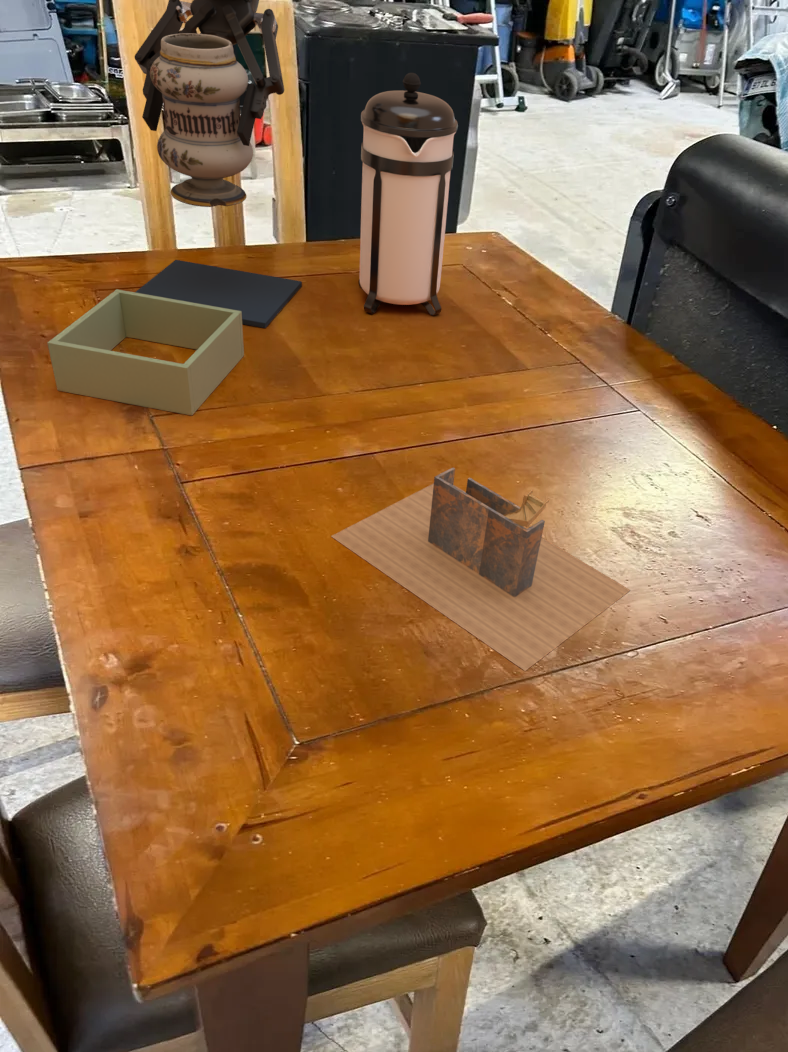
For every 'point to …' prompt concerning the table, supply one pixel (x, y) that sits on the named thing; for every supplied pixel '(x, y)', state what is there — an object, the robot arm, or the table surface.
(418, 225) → the coffee press
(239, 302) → the mat
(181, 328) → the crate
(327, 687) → the table surface
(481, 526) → the architectural model on board
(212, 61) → the apothecary jar
